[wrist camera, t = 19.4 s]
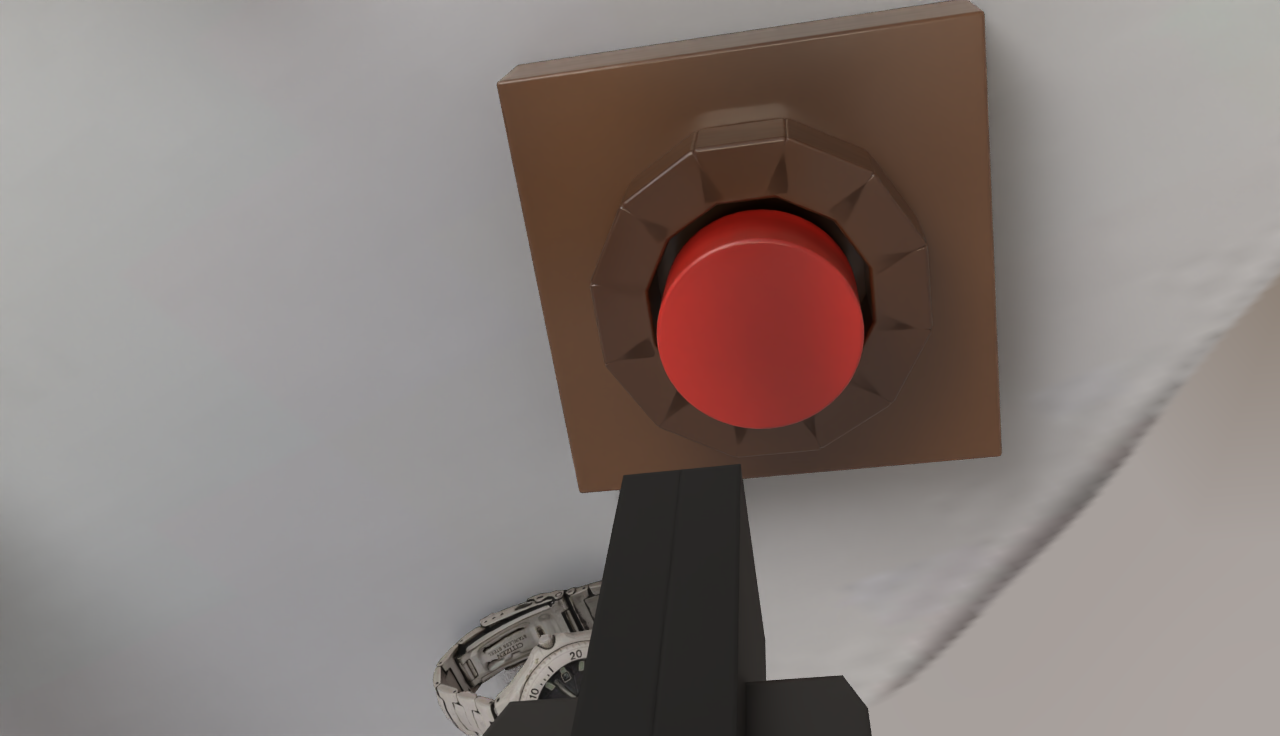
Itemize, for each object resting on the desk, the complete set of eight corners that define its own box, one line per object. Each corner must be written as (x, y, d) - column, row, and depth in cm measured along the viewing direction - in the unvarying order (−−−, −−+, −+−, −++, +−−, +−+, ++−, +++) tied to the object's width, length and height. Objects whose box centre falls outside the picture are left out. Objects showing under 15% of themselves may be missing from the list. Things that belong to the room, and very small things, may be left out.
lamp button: (679, 396, 25) (672, 439, 23) (651, 221, 24) (641, 252, 22) (864, 377, 25) (872, 420, 23) (848, 196, 23) (855, 226, 21)
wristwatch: (682, 632, 32) (668, 760, 28) (485, 686, 34) (441, 816, 29) (635, 530, 31) (612, 646, 26) (432, 590, 32) (378, 710, 28)
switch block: (591, 451, 30) (567, 534, 26) (516, 64, 26) (475, 98, 23) (986, 414, 29) (1017, 497, 25) (967, -2, 25) (1001, 21, 21)
